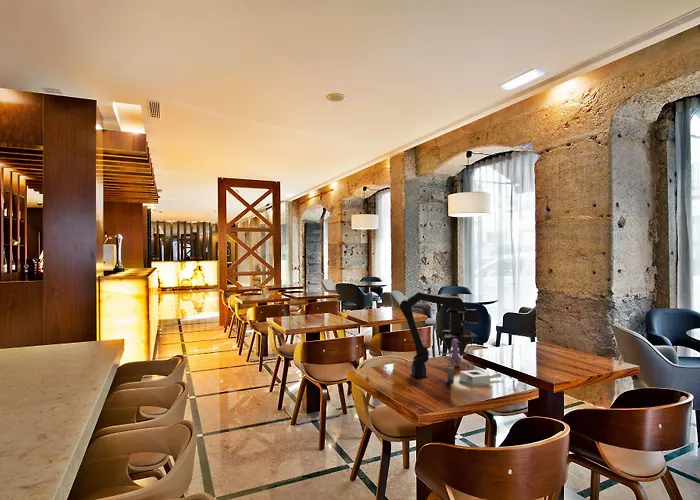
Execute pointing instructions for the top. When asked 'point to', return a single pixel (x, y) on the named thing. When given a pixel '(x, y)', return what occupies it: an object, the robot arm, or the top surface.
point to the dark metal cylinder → (450, 374)
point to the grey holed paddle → (476, 378)
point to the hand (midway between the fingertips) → (455, 353)
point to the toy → (455, 352)
